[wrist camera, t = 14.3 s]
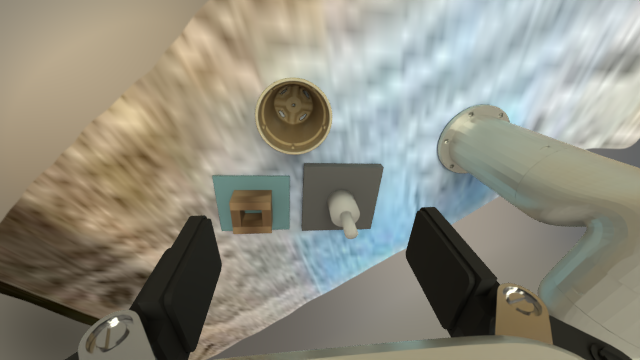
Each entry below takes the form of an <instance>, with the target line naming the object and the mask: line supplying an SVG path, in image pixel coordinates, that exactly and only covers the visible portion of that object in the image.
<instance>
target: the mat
mask: <svg viewBox="0 0 640 360" xmlns="http://www.w3.org/2000/svg"><path fill="white" fill-rule="evenodd" d="M212 177H213V183H214V189H215V195H216V200H217V206H218V212H219V218H220V224H221V229H222V231H233V227H232V220H231V213H230V205H229V202H230V199H231V197H232V194H233V191H234V190H272V209H273V223H272V230H278V229H289V183H290V176H212ZM245 213H262V210H245Z"/></svg>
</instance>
